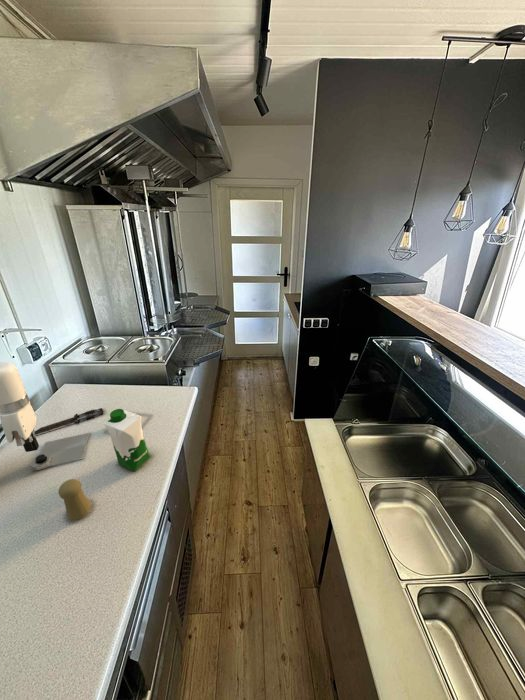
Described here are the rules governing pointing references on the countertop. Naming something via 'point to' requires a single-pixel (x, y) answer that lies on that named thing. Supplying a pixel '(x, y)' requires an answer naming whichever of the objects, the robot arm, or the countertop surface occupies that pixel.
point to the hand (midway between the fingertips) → (32, 449)
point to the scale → (62, 451)
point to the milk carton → (127, 438)
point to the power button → (40, 458)
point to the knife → (67, 422)
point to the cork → (74, 499)
